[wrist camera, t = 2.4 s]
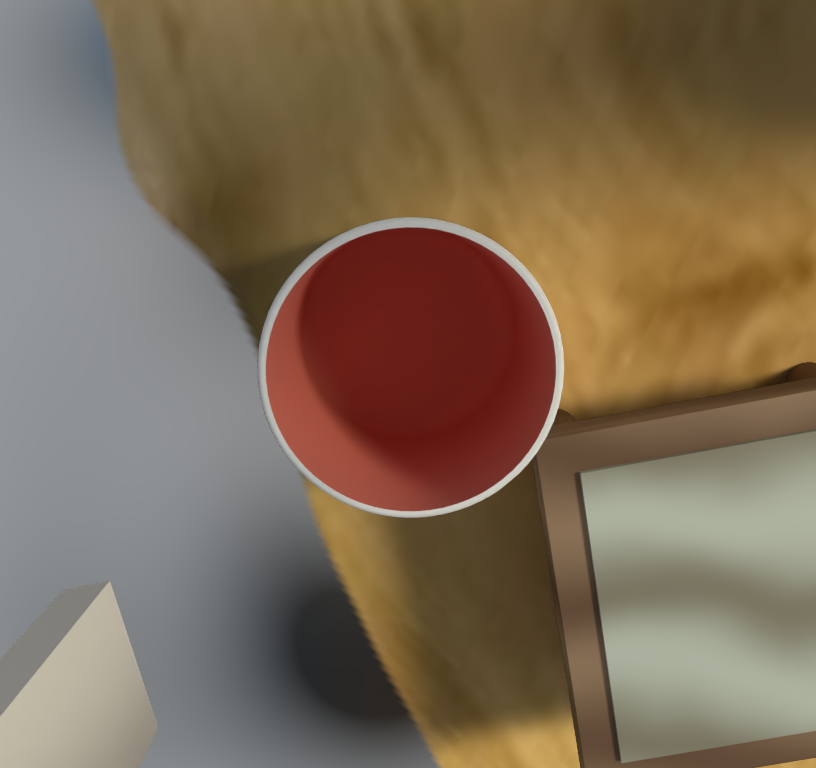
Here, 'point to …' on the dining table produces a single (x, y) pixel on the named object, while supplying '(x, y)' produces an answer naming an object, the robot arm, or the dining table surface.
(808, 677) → the footstool
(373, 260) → the cup
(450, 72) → the dining table surface
